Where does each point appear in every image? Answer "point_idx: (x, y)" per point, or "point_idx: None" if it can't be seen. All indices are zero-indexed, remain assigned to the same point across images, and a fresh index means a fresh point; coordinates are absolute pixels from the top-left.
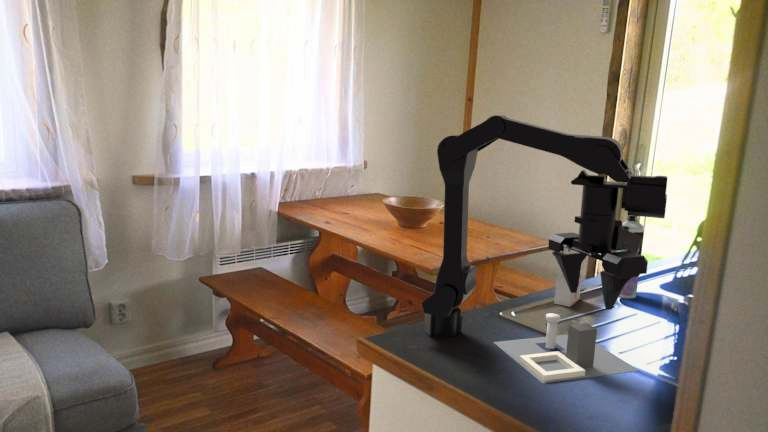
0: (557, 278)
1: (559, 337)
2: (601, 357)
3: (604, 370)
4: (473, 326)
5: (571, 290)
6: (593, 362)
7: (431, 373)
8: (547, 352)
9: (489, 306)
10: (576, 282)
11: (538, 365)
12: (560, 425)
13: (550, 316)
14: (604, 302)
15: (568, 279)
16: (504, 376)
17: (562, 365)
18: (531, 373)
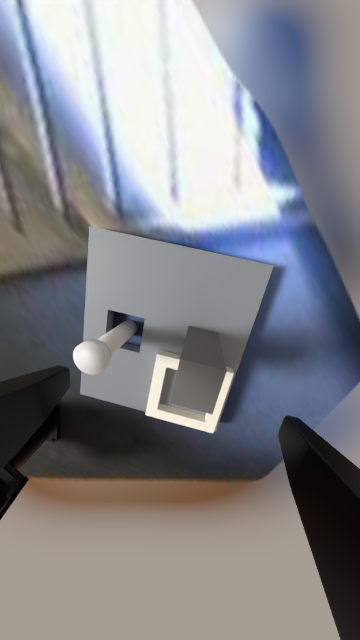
0: None
1: (95, 284)
2: (196, 284)
3: (236, 324)
4: (6, 353)
5: (62, 396)
6: (218, 336)
7: (121, 478)
8: (153, 373)
9: None
10: (27, 401)
11: (184, 416)
12: None
13: (91, 368)
14: (291, 478)
15: (8, 458)
16: (161, 426)
17: None
18: None
